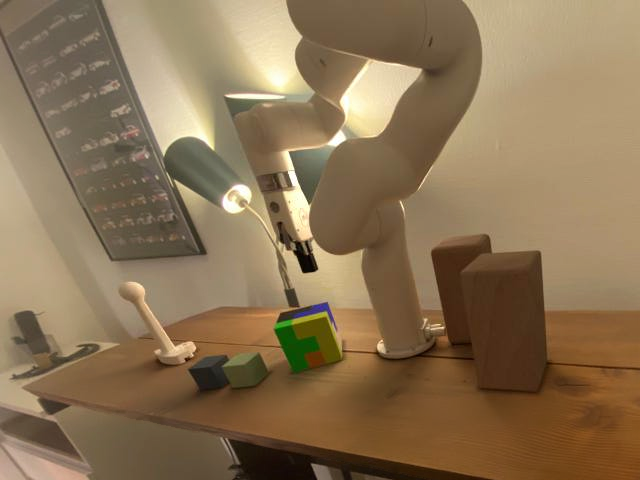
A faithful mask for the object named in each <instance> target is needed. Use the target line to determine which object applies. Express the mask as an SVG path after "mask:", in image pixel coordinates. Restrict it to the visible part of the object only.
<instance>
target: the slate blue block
mask: <svg viewBox="0 0 640 480" xmlns="http://www.w3.org/2000/svg"><path fill="white" fill-rule="evenodd" d="M229 360H230V359H229V357H228V355H227V354H221V355H210V356H205V357H202V359H200V360H198V361H197V362H196V363H194V364H193V365H191V366H190V367H188V368H187V371H188V372H189V374H190V375H191V377H192V379H193V380H194V382H195V384H196V385H197V387H198V389H199V390H201V391H202V390H203V391H204V390H212V389H213V390H214V389H223V388H224V387H225V386H226V385H227V384H229V383H230V381H229V380H228V378H227V376H226V374H225V373H224V371H223V369H222V366H223V365H224V364H226V363H227V362H228V361H229Z"/></svg>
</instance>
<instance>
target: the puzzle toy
mask: <svg viewBox="0 0 640 480" xmlns="http://www.w3.org/2000/svg"><path fill="white" fill-rule="evenodd" d="M273 332H274V334H275V335H276V338H277V340H278V342H279V344H280V347H281V349H282V351H283V353H284V356H285V358H286V360H287V362H288V365H289V366H290V369H291V371H292V373H293V374H294V373H297V372H302V371H306V370H308V369H313V368H316V367H320V366H323V365H328V364H330V363H335V362H339V361H343V340H342V338H341V335H340V333H339V330H338V327H337V324H336V321H335V318H334V316H333V313H332V310H331V308H330V304H329V302H328V301H325V302H320V303H316V304H312V305H307V306H303V307H300V308H299V307H298V308H295V309H291V310H286V311H282V312H280V313H279V315H278V317H277V320H276V323H275V324H274V327H273Z"/></svg>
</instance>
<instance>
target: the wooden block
mask: <svg viewBox="0 0 640 480" xmlns="http://www.w3.org/2000/svg"><path fill="white" fill-rule="evenodd" d="M543 277H544V276H543V261H542V252H541V251H540V250H538V249H537V250H535V249H534V250H522V251H521V250H519V251H504V252H492V253H485V254H481V255H479V256H478V257H477V258H476V259H475V260H474V261H473V262H472V263H470V264H469V265H468V266H467V267H466V268H465V269H464V270H462V271H461V272H460V279H461V284H462V290H463V296H464V302H465V308H466V314H467V320H468V325H469V331H470V337H471V343H470V344H471V348H472V355H473V361H474V367H475V372H476V378H477V383H478V387H479V388H480V389H487V390H488V389H489V390H502V391H517V392H530V393H535V392H538V391H539V387H540V384H541V381H542V378H543V376H544V372H545V369H546V367H547V363H548V360H549V359H548V346H547V344H548V343H547V329H546V328H547V326H546V312H545V311H546V310H545V309H546V308H545V296H544V294H545V293H544V279H543Z"/></svg>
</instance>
